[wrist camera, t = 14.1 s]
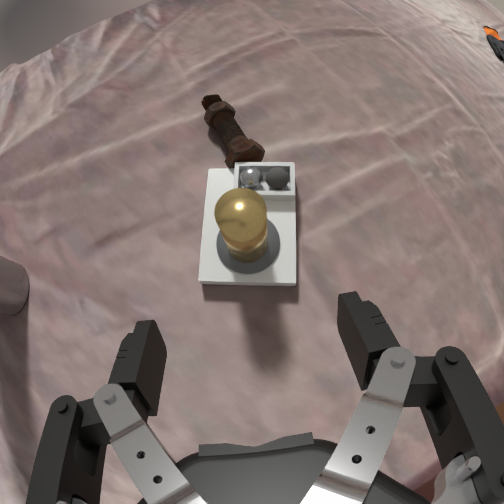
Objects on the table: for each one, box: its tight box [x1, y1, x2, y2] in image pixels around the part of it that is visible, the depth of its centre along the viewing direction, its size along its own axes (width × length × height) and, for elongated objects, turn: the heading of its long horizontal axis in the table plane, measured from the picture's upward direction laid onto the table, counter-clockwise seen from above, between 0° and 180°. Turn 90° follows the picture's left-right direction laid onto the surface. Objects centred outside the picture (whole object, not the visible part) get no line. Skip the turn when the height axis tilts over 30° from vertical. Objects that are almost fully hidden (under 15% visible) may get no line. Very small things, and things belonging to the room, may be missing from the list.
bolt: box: [202, 94, 265, 168], centre depth 45 cm, size 6×5×15 cm
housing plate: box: [198, 162, 296, 286], centre depth 41 cm, size 12×16×4 cm
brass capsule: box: [214, 188, 268, 263], centre depth 34 cm, size 5×5×10 cm
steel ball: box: [240, 167, 263, 189], centre depth 41 cm, size 3×3×3 cm
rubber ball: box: [266, 167, 289, 190], centre depth 40 cm, size 3×3×3 cm
